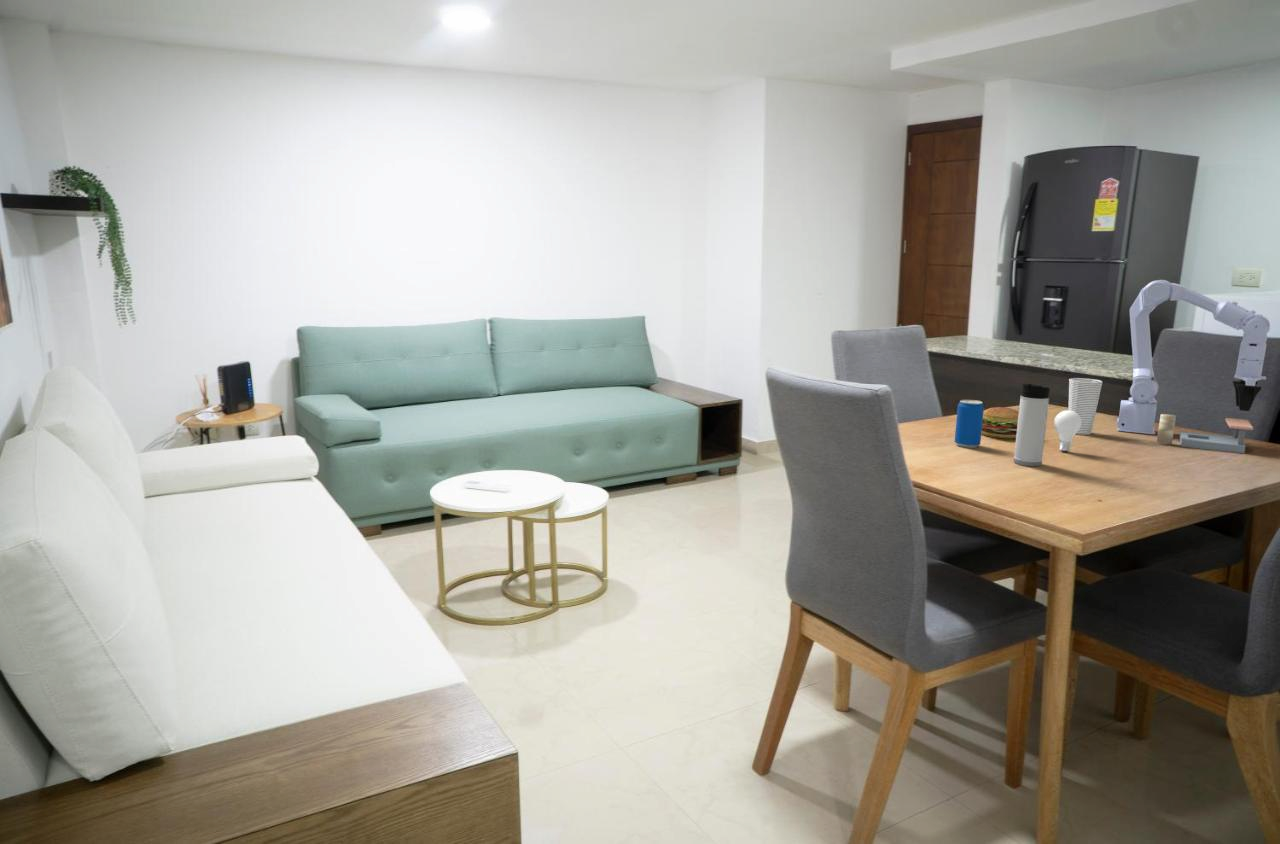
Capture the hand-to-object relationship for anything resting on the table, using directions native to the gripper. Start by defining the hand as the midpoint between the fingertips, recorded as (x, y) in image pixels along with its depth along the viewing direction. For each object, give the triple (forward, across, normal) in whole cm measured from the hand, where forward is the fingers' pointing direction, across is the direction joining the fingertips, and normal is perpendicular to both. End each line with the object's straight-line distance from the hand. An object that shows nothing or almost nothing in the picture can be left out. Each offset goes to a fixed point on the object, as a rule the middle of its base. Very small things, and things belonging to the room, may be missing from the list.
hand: (1242, 408), depth 230 cm
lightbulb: (+10, -40, +41) cm, 58 cm away
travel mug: (+10, -60, +48) cm, 77 cm away
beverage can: (+10, -46, +64) cm, 80 cm away
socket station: (+10, -8, +7) cm, 14 cm away
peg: (+10, -13, +18) cm, 24 cm away
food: (+10, -26, +58) cm, 64 cm away
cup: (+10, -10, +39) cm, 41 cm away
